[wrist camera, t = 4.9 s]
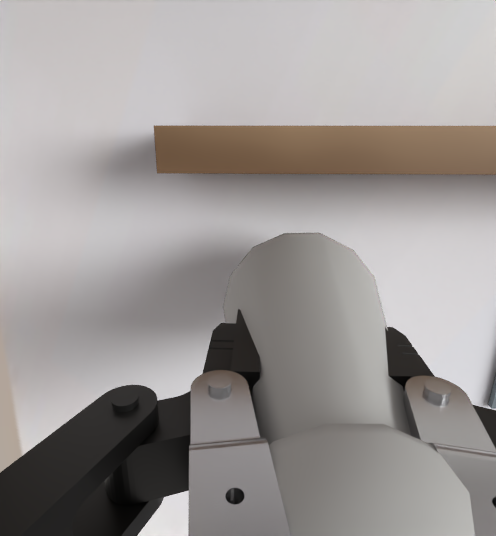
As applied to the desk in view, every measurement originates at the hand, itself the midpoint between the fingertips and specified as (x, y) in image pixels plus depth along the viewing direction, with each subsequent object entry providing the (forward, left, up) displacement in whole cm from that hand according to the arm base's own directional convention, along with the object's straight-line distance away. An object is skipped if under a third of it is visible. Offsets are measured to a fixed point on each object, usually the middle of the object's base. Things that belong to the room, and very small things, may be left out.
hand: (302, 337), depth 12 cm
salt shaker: (0, 0, -5) cm, 5 cm away
